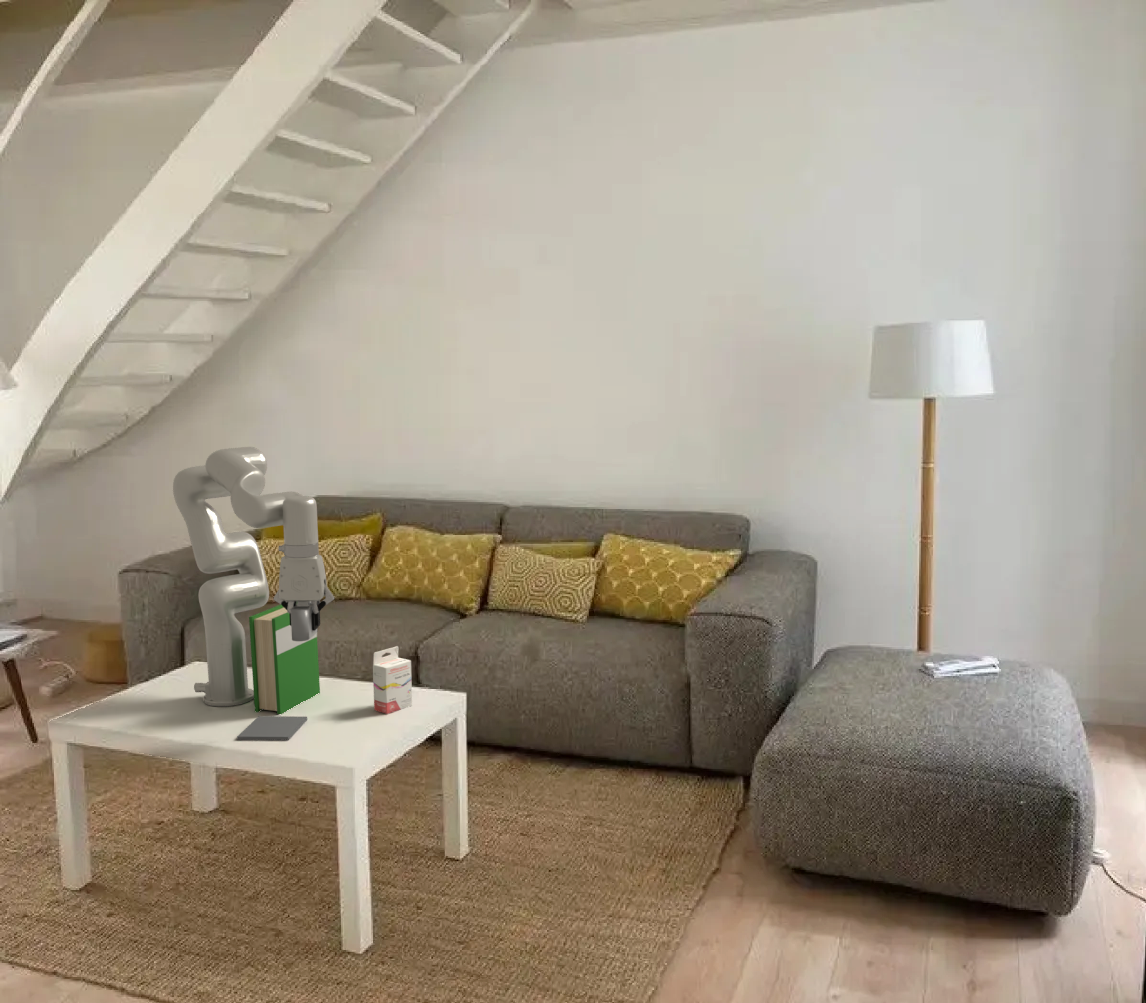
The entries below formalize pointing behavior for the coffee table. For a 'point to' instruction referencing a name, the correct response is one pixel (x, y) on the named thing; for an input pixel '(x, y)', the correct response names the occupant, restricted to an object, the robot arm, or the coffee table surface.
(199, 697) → the coffee table surface
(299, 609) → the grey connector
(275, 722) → the charcoal mat
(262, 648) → the hardback book
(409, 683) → the ink cartridge box
